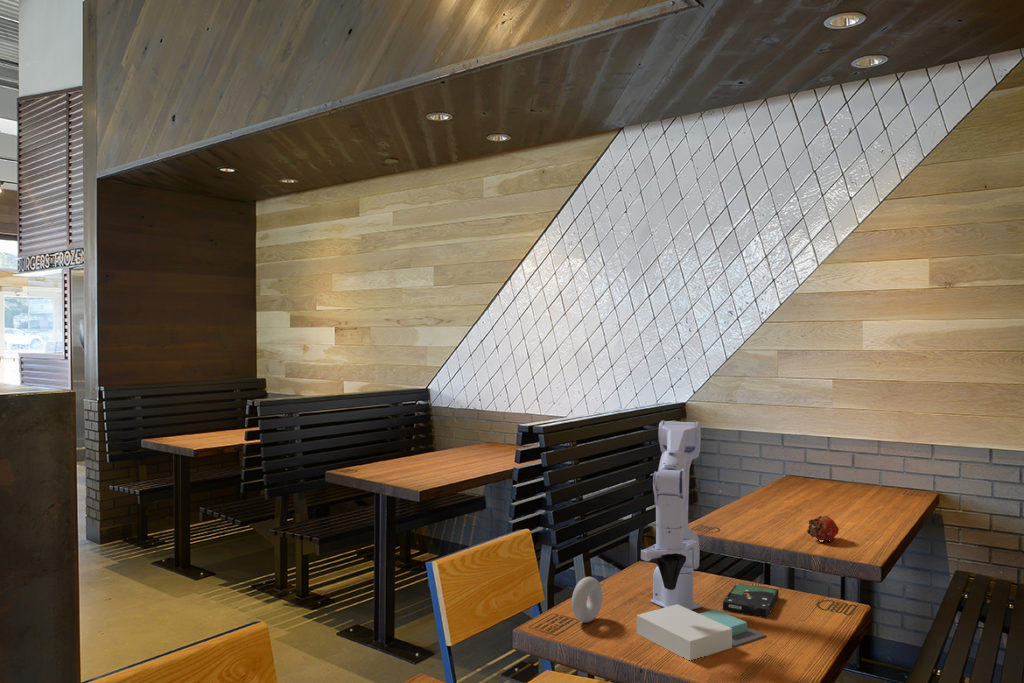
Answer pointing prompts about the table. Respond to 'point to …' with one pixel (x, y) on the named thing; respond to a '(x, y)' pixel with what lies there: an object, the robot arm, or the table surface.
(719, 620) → the teal rectangular block
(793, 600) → the table surface
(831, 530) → the dragon fruit
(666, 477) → the robot arm
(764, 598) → the disk drive
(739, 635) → the mat
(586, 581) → the donut
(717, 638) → the white flat block
